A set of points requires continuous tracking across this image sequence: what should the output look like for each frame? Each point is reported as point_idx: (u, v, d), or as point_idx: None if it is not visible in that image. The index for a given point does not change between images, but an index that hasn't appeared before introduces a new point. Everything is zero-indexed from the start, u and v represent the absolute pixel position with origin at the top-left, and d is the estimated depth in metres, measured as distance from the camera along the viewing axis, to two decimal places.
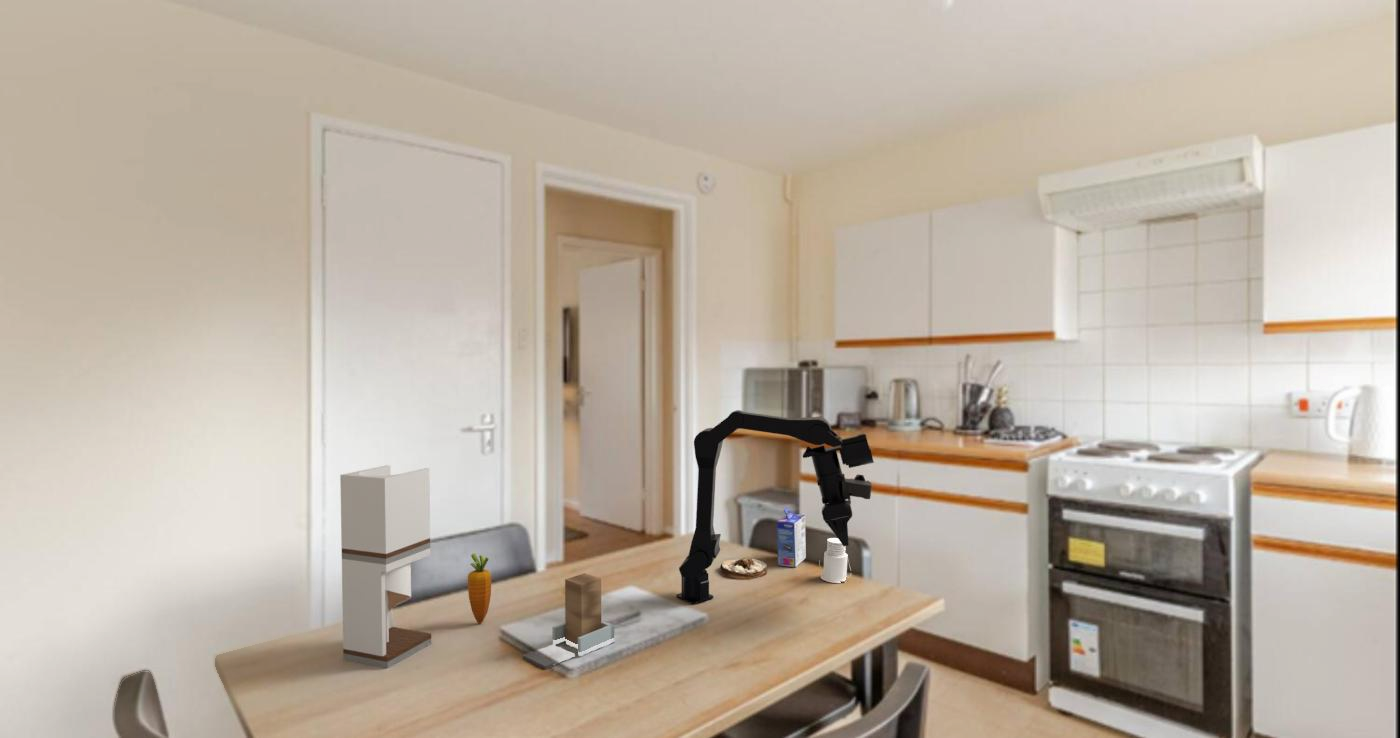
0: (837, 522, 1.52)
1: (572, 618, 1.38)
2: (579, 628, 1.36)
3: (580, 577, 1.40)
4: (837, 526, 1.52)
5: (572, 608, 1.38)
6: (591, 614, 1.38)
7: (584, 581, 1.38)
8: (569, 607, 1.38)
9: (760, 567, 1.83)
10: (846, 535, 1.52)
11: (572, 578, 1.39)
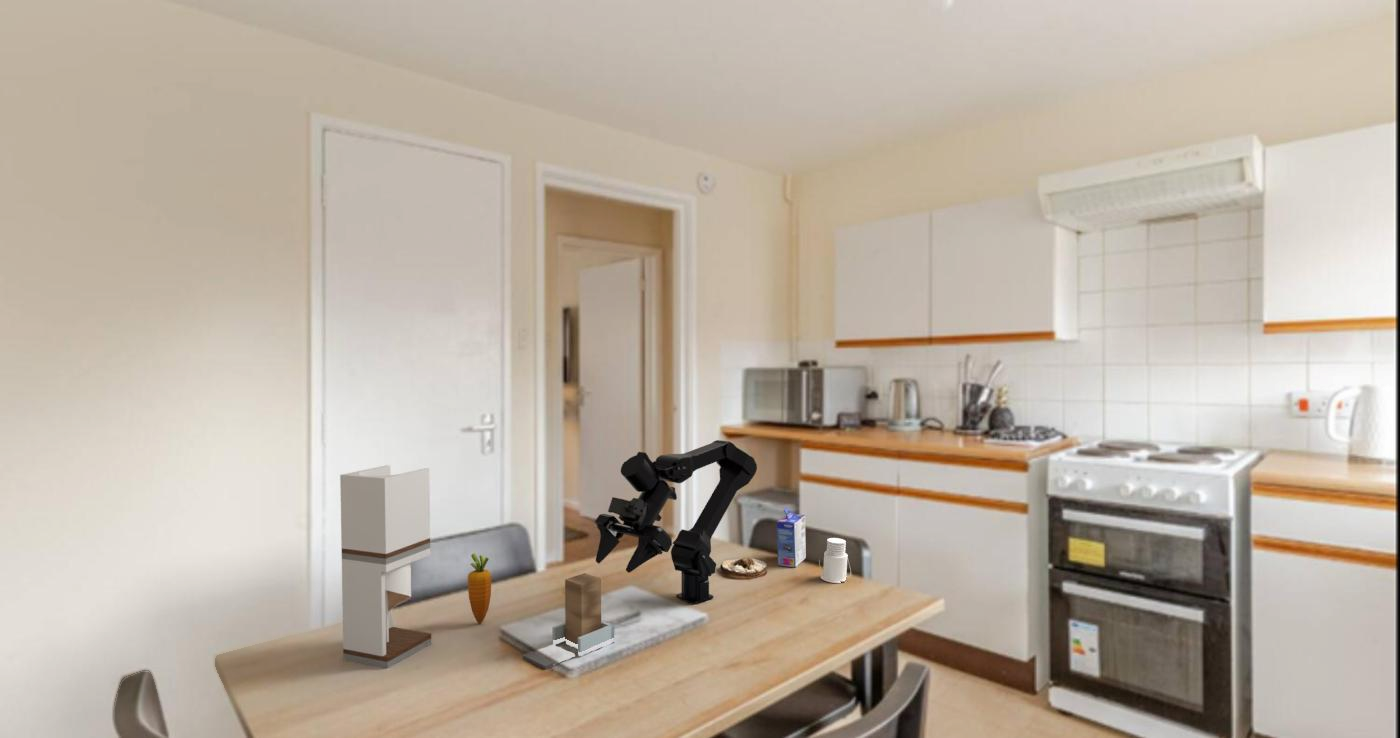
0: None
1: (572, 618, 1.38)
2: (579, 628, 1.36)
3: (580, 577, 1.40)
4: None
5: (572, 608, 1.38)
6: (591, 614, 1.38)
7: (584, 581, 1.38)
8: (569, 607, 1.38)
9: (760, 567, 1.83)
10: None
11: (572, 578, 1.39)
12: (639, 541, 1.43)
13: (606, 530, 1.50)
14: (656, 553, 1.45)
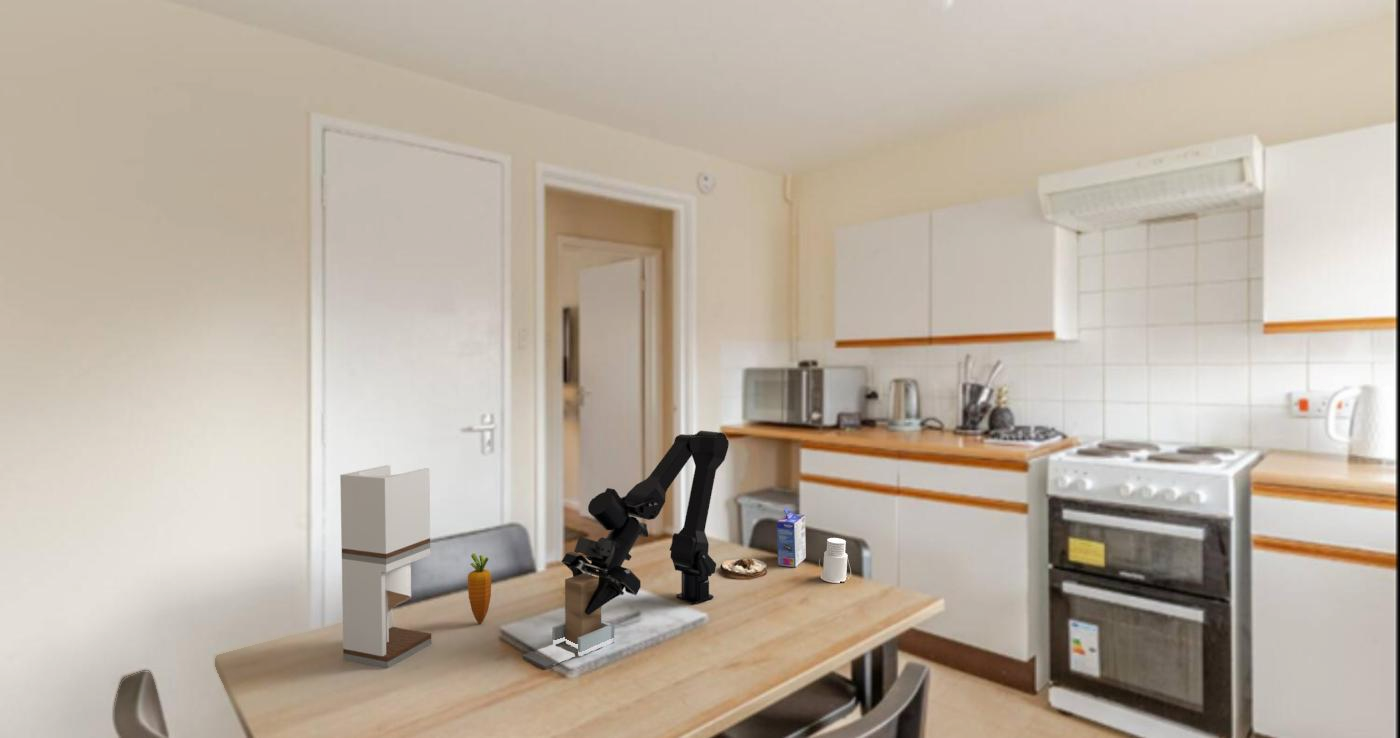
0: None
1: (572, 618, 1.38)
2: (579, 628, 1.36)
3: (580, 577, 1.40)
4: None
5: (572, 608, 1.38)
6: (591, 614, 1.38)
7: (584, 581, 1.38)
8: (569, 607, 1.38)
9: (760, 567, 1.83)
10: None
11: (572, 578, 1.39)
12: (599, 581, 1.38)
13: (579, 572, 1.42)
14: (617, 594, 1.40)
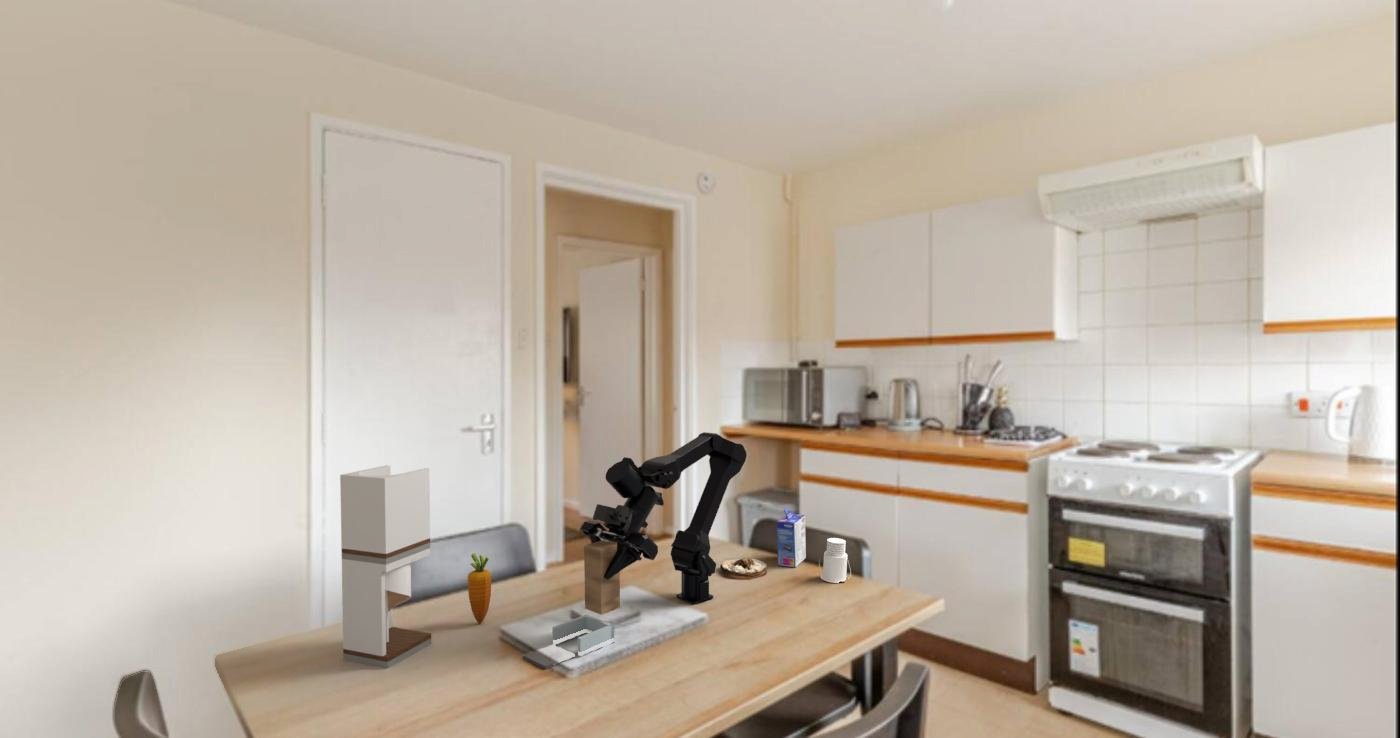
0: None
1: (591, 583, 1.41)
2: (598, 592, 1.40)
3: (598, 543, 1.43)
4: None
5: (591, 573, 1.41)
6: (610, 579, 1.41)
7: (603, 547, 1.41)
8: (588, 572, 1.42)
9: (760, 567, 1.83)
10: None
11: (591, 544, 1.43)
12: (617, 547, 1.41)
13: (597, 539, 1.46)
14: (635, 559, 1.43)
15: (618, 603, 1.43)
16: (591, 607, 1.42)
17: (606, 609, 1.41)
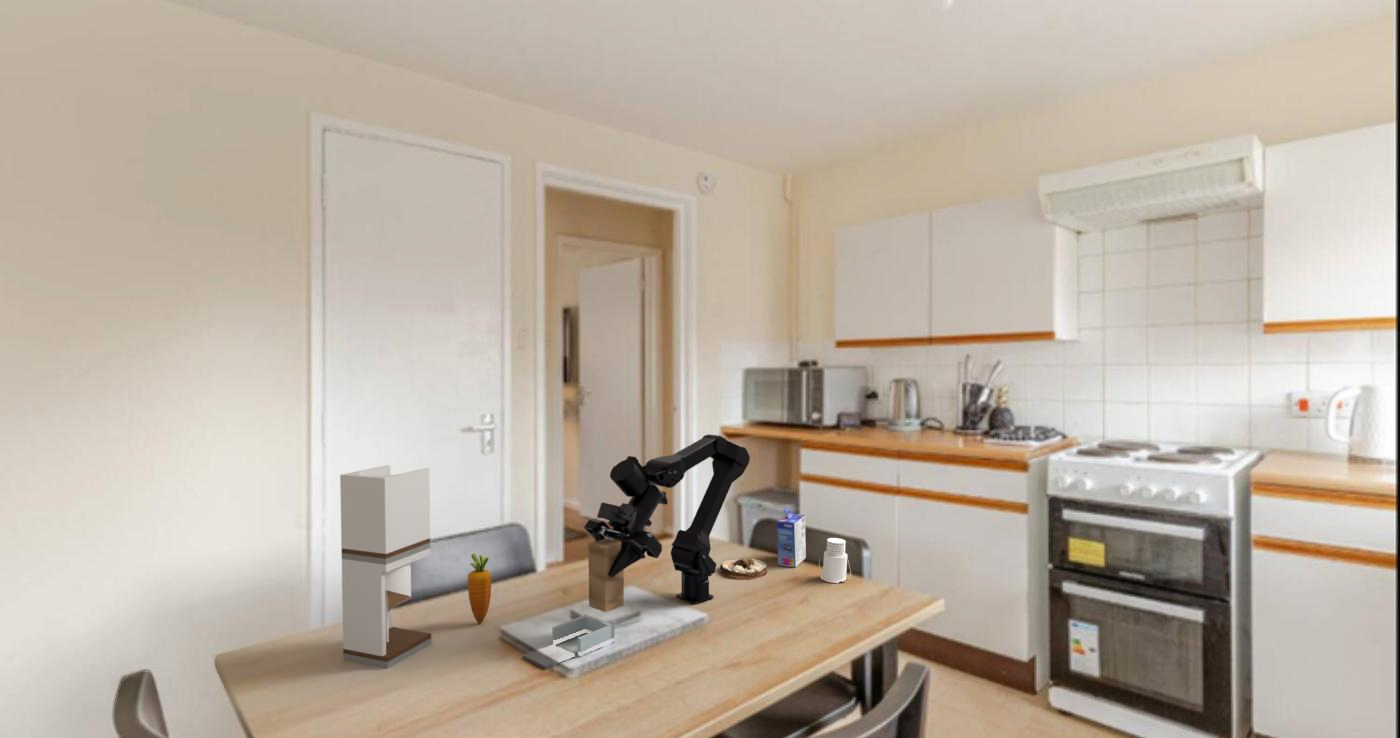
0: None
1: (595, 581, 1.42)
2: (602, 590, 1.41)
3: (603, 541, 1.44)
4: None
5: (595, 571, 1.42)
6: (614, 577, 1.42)
7: (607, 545, 1.42)
8: (592, 570, 1.42)
9: (760, 567, 1.83)
10: None
11: (595, 542, 1.44)
12: (621, 545, 1.42)
13: (601, 537, 1.47)
14: (639, 557, 1.44)
15: (622, 601, 1.44)
16: (595, 605, 1.42)
17: (610, 607, 1.41)
